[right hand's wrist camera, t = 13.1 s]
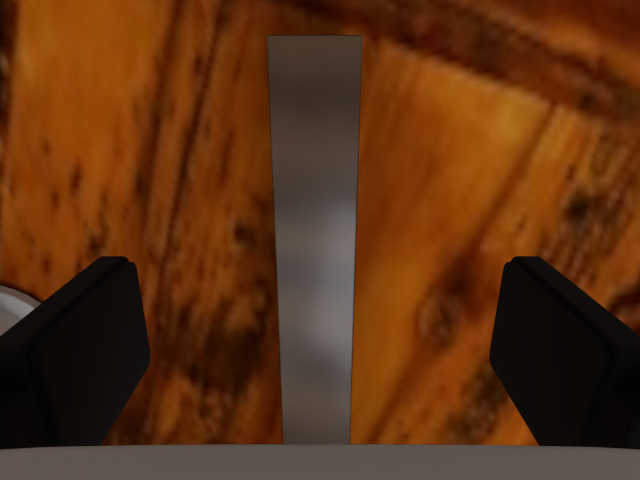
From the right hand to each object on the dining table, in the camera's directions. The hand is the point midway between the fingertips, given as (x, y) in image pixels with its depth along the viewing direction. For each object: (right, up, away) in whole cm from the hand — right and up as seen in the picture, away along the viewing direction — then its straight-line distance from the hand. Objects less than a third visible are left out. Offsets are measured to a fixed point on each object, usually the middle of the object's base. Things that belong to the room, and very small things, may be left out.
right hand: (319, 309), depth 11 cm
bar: (0, -14, +29) cm, 32 cm away
